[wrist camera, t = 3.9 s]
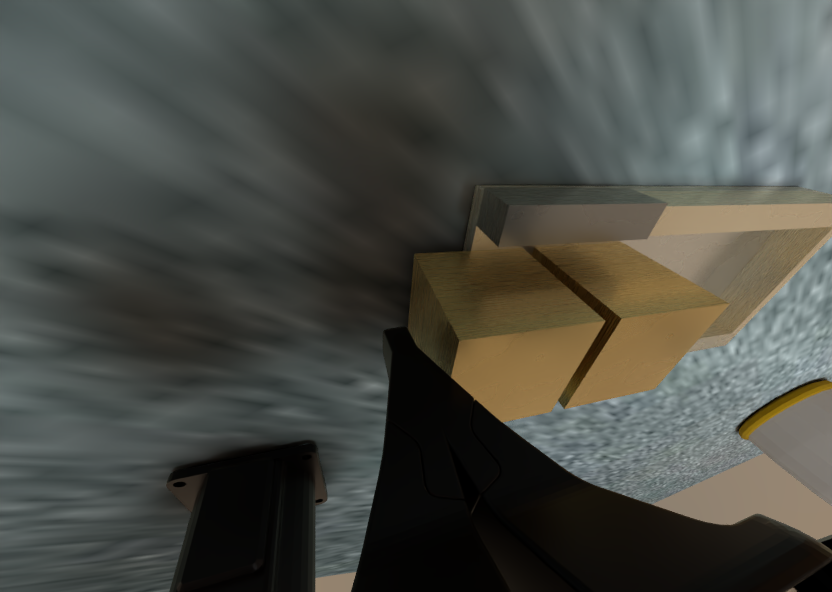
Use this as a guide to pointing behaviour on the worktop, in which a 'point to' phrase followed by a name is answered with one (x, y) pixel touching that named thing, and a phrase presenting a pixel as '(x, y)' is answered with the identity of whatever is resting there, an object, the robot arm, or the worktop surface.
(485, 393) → the chip
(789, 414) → the soap bottle
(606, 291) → the chip
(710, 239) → the slot board
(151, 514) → the worktop surface
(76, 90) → the worktop surface
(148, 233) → the worktop surface
